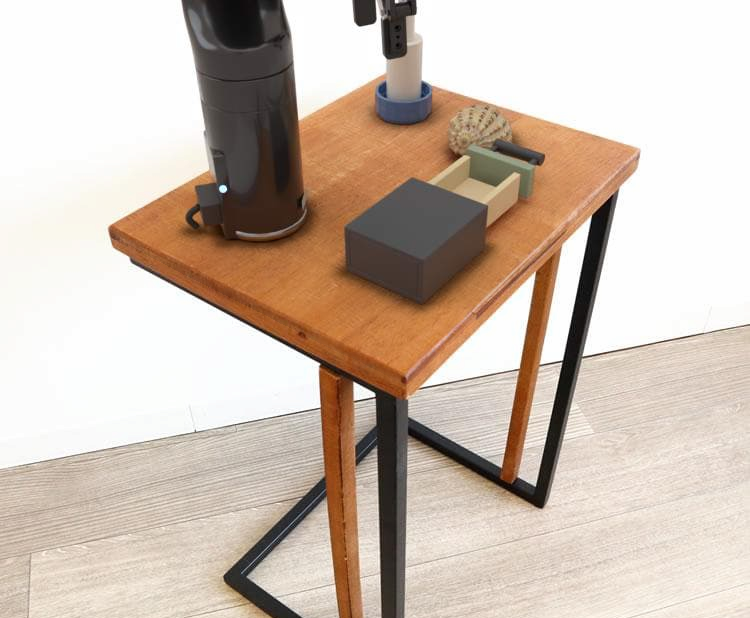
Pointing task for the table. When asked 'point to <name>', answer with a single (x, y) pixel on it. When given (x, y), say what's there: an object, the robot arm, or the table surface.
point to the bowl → (403, 105)
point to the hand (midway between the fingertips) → (379, 40)
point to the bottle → (406, 68)
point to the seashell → (477, 128)
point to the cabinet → (415, 239)
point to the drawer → (492, 176)
